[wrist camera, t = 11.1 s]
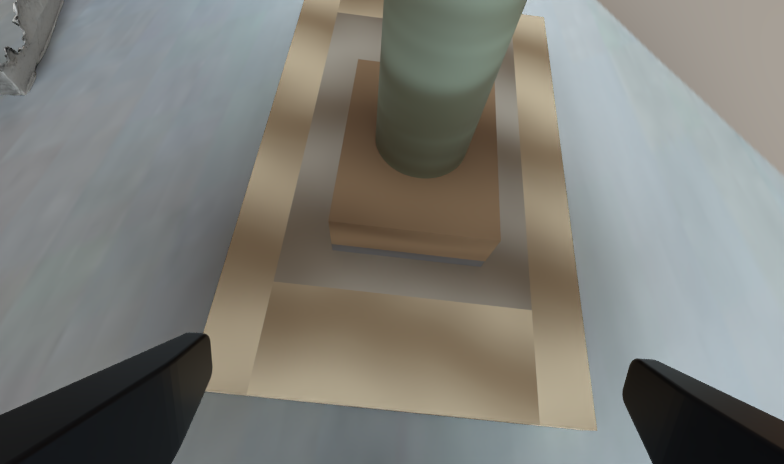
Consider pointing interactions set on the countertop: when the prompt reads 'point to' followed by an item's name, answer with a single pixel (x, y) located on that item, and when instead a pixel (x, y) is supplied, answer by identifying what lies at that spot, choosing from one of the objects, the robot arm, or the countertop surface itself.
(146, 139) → the countertop surface
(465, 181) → the grey-green cylinder
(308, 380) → the wooden frame
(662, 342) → the countertop surface
